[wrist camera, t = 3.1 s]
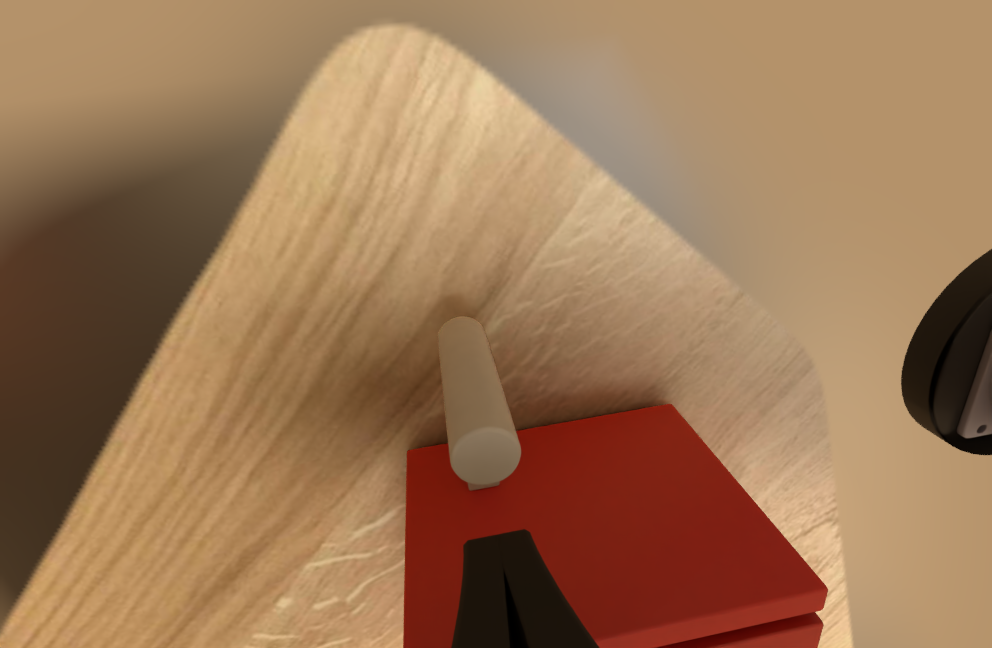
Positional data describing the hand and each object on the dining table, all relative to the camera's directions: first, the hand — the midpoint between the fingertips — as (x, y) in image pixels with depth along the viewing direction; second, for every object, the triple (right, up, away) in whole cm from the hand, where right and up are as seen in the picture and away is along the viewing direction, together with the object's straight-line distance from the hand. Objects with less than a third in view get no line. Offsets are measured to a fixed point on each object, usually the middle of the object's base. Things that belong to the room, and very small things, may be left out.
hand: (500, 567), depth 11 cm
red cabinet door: (+1, +4, +7) cm, 8 cm away
